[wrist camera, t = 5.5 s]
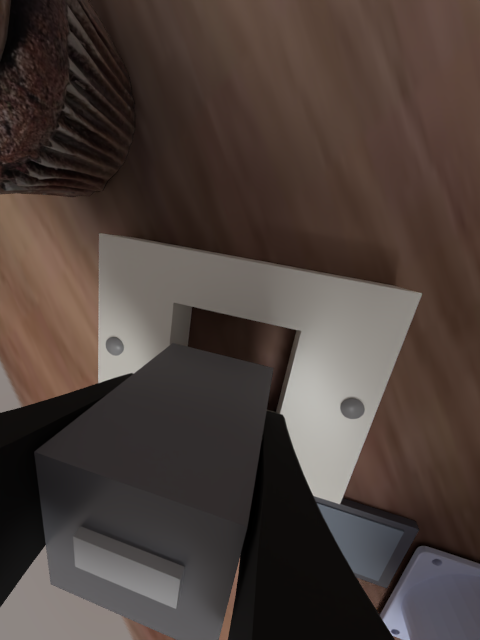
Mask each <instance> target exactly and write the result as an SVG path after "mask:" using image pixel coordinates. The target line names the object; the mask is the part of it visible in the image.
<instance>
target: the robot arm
mask: <svg viewBox="0 0 480 640" xmlns="http://www.w3.org/2000/svg"><path fill="white" fill-rule="evenodd" d="M131 375H133V373H130V374H126V375H122V376H119V377H116V378H113V379H109V380H106V381H103V382H101V383H98V384H95V385H92V386H89V387H86V388H83V389H80V390H77V391H74V392H71V393H68V394H64V395H61V396H58V397H55V398H51V399H48V400H45V401H41V402H38V403H35V404H31V405H28V406H25V407H21V408H17V409H14V410H10V411H6V412H2V413H0V607H1V605H2V604H3V603H4V601H5V600H6V599H7V597H8V596H9V594H10V593H11V592H12V590H13V589H14V587H15V586H16V585H17V583H18V582H19V580H20V579H21V577H22V576H23V575H24V573H25V572H26V571H27V569H28V568H29V566H30V565H31V564H32V562H33V561H34V560H35V558H36V557H37V556H38V554H39V553H40V552H41V550H42V549H43V548H44V546H45V545H46V542H45V534H44V526H43V518H42V510H41V502H40V495H39V487H38V479H37V471H36V463H35V455H34V452H35V451H36V450H37V449H38V448H40V447H41V446H42V445H43V444H45V443H46V442H47V441H49V440H50V439H51V438H52V437H54V436H55V435H56V434H57V433H59V432H60V431H61V430H63V429H64V428H65V427H66V426H68V425H69V424H70V423H71V422H73V421H74V420H75V419H77V418H78V417H79V416H80V415H82V414H83V413H84V412H85V411H87V410H88V409H89V408H91V407H92V406H93V405H94V404H96V403H97V402H98V401H99V400H101V399H102V398H103V397H105V396H106V395H107V394H108V393H110V392H111V391H112V390H114V389H115V388H116V387H117V386H119V385H120V384H121V383H122V382H124V381H125V380H126V379H128V378H129V377H130V376H131ZM393 636H395V637H397V638H400V639H403V640H480V564H479V563H476V562H473V561H470V560H467V559H464V558H461V557H458V556H455V555H452V554H449V553H446V552H443V551H440V550H437V549H434V548H431V547H428V546H420V547H418V548H417V549H416V550H415V552H414V554H413V556H412V557H411V559H410V561H409V563H408V565H407V567H406V568H405V570H404V572H403V574H402V576H401V577H400V579H399V581H398V583H397V585H396V587H395V588H394V590H393V592H392V594H391V596H390V597H389V599H388V601H387V603H386V605H385V607H384V608H383V610H382V612H381V614H380V615H379V614H378V612H377V610H376V609H375V607H374V605H373V604H372V602H371V601H370V599H369V597H368V596H367V594H366V593H365V591H364V589H363V588H362V586H361V585H360V583H359V581H358V579H357V578H356V576H355V574H354V572H353V571H352V569H351V567H350V565H349V564H348V562H347V560H346V558H345V557H344V555H343V553H342V551H341V550H340V548H339V546H338V544H337V542H336V540H335V538H334V536H333V535H332V533H331V531H330V529H329V527H328V525H327V523H326V521H325V519H324V517H323V515H322V513H321V511H320V509H319V507H318V505H317V503H316V501H315V498H314V496H313V494H312V492H311V490H310V488H309V485H308V483H307V481H306V478H305V476H304V474H303V471H302V469H301V466H300V463H299V461H298V458H297V456H296V453H295V450H294V448H293V445H292V442H291V439H290V436H289V432H288V429H287V425H286V421H285V418H284V416H283V415H282V414H278V413H275V412H271V411H266V417H265V423H264V429H263V435H262V441H261V448H260V454H259V460H258V466H257V472H256V478H255V484H254V490H253V496H252V503H251V509H250V515H249V521H248V527H247V531H246V535H245V539H244V543H243V546H242V550H241V555H240V565H239V574H238V582H237V589H236V596H235V602H234V608H233V614H232V620H231V626H230V631H229V637H228V640H395V639H394V638H393Z"/></svg>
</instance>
